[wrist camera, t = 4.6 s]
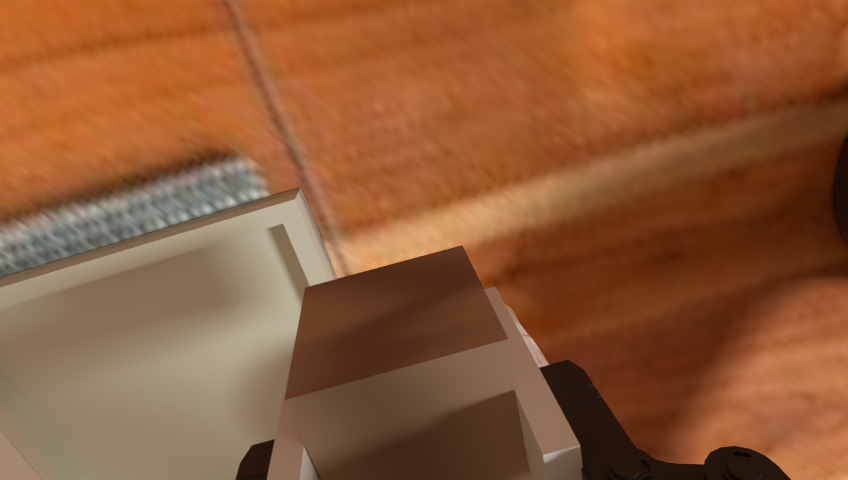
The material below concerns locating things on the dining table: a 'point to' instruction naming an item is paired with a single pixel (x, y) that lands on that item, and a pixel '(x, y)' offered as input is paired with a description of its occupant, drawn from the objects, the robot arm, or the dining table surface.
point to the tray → (159, 346)
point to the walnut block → (406, 376)
